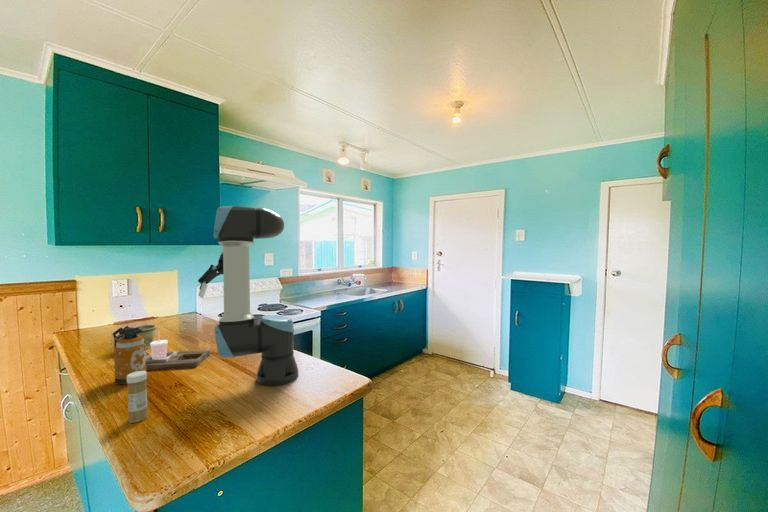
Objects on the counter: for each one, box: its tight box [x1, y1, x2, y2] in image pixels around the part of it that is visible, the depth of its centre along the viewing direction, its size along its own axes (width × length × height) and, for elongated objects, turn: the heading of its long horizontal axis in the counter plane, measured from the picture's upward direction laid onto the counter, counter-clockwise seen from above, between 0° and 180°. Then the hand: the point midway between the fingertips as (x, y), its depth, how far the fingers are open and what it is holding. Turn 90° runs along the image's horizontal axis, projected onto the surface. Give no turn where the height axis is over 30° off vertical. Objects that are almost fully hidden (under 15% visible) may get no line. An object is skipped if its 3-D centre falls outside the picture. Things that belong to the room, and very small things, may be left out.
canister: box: [112, 325, 147, 385], centre depth 113 cm, size 9×11×20 cm
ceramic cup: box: [132, 324, 157, 350], centre depth 150 cm, size 13×10×10 cm
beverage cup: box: [150, 329, 169, 359], centre depth 130 cm, size 6×6×14 cm
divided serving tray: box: [146, 349, 212, 371], centre depth 131 cm, size 15×23×3 cm, turn 100°
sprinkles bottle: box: [126, 370, 149, 424], centre depth 88 cm, size 5×5×13 cm
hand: (215, 295), depth 137 cm, fingers open, 13 cm apart
